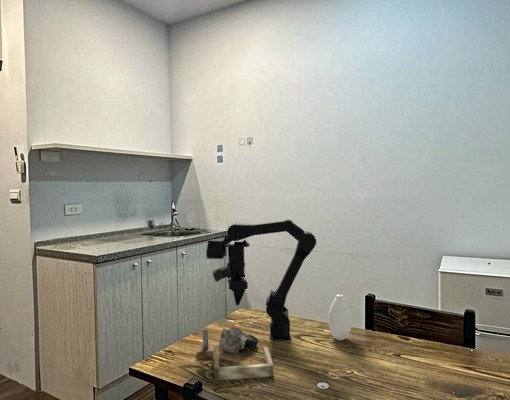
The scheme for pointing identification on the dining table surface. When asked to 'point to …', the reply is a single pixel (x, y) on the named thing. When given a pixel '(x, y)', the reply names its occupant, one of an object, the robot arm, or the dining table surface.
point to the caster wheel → (236, 340)
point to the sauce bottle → (340, 318)
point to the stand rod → (205, 347)
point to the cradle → (244, 368)
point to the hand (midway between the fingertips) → (237, 302)
